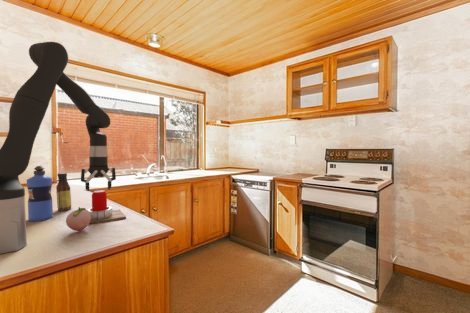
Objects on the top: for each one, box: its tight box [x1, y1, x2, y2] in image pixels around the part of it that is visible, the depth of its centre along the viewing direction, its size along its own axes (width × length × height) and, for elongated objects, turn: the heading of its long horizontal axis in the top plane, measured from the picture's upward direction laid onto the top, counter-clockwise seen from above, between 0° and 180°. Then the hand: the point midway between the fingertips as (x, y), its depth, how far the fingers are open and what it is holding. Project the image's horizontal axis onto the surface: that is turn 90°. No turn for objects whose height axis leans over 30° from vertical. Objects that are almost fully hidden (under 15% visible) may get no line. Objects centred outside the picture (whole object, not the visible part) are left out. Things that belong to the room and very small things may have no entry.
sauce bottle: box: [55, 172, 72, 212], centre depth 129 cm, size 7×6×20 cm
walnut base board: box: [88, 208, 127, 226], centre depth 114 cm, size 16×20×1 cm
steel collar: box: [86, 205, 113, 220], centre depth 114 cm, size 10×10×4 cm
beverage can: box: [91, 189, 108, 211], centre depth 114 cm, size 6×6×12 cm
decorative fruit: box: [65, 206, 91, 232], centre depth 96 cm, size 9×8×10 cm
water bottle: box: [26, 165, 54, 222], centre depth 113 cm, size 9×9×25 cm
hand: (98, 189), depth 113 cm, fingers open, 8 cm apart
